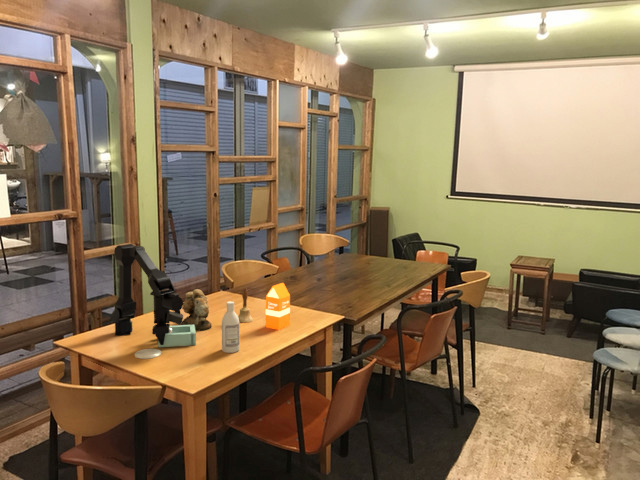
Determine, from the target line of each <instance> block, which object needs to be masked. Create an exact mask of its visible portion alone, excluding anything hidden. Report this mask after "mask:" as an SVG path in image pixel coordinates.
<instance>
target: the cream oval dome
mask: <svg viewBox="0 0 640 480" xmlns="http://www.w3.org/2000/svg"><path fill="white" fill-rule="evenodd" d="M161 355H162V351H161V349H158V348H145V349H140V350H138V351H136V352H134V357H135V358H137V359H140V360H147V359H155V358H158V357H159V356H161Z"/></svg>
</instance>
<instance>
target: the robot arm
mask: <svg viewBox="0 0 640 480" xmlns="http://www.w3.org/2000/svg"><path fill="white" fill-rule="evenodd" d="M114 258H115V261H116V263H118V272H119V273H118V282H119V283H118V287H119V288H118V292H119V293H118V299H117V300H116V302H115V304H114V310H113V311H112V313H111V314H110V316H109V318H110V321H112V322H114V331H115V332H114V336H127V335H129V336H130V335H131V334H132V332H133V321H132V320H131V319H135V317H136V312H137V301H135V300H134V299H133V297H132V274H133V273H132V266H133V263H134V261H135V260H136V262H137V263H138V266H139V267H140V268H141V269H142V271H143V272H144V273H145V275H146V277H147V283H148V285H149V287H150V289H151V292H150V295H149V296H153V324H154V325H153V326H152V331H151V333H152V335H155V337H156V338H157V342H158V341H159V343H160V345H164V339H165V334H168V333H169V326H171V325H170V324H171V323H173V324H176V325H181V323H182V321H183V320H184V314H183V313H181V310H182V307H183V303H184V301H183V299H182V297H180V294H179V293H176V292H177V291H176V288H175V286H174V285H173V284H174V283H173V282H172V280H171V278H170V276H168V275H167V273H165V272H164V271H161V270H160V269H159V268H158V267H157V266H156V264H155V263H154V262H153V260H152V259H151V258H150V256H149V255H148V252H146V249H145V246H142V245H134V244H133V243H126V244H119V245H118V244H117V246H116V247H114Z"/></svg>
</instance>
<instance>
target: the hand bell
mask: <svg viewBox="0 0 640 480" xmlns="http://www.w3.org/2000/svg"><path fill="white" fill-rule="evenodd" d="M241 296H242V300H243V302H242V308H240V309H239V314H238V315H237V316H238V318H239V323H244V324H245V323H251V322H253V321H254V318H253V317H252V316H251V311H250V310H251V309H250V308H249V307H248V306H247V303H248V296H249V294H248V289H247V287H243V290H242V292H241Z"/></svg>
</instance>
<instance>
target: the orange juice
mask: <svg viewBox="0 0 640 480" xmlns="http://www.w3.org/2000/svg"><path fill="white" fill-rule="evenodd" d="M290 321H291V294H290V293H289V291H288V288H287V287H286V285H285V283H284V282H281V283H277V284H274V285H272V286H271V288H270V290H269V291H268V293H267V294H266V296H265V328H267V329H269V328H270V329H273V330H277V331H280V330H282V329H284V328H287V327H289V326H290V324H291V322H290Z"/></svg>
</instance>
